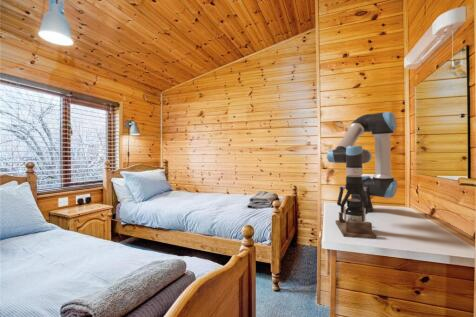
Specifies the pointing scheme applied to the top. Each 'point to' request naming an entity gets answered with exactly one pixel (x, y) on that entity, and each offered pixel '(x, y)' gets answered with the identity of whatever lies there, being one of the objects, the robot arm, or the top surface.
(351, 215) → the ink bottle
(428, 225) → the top surface
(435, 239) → the top surface
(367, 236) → the cradle
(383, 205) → the top surface
